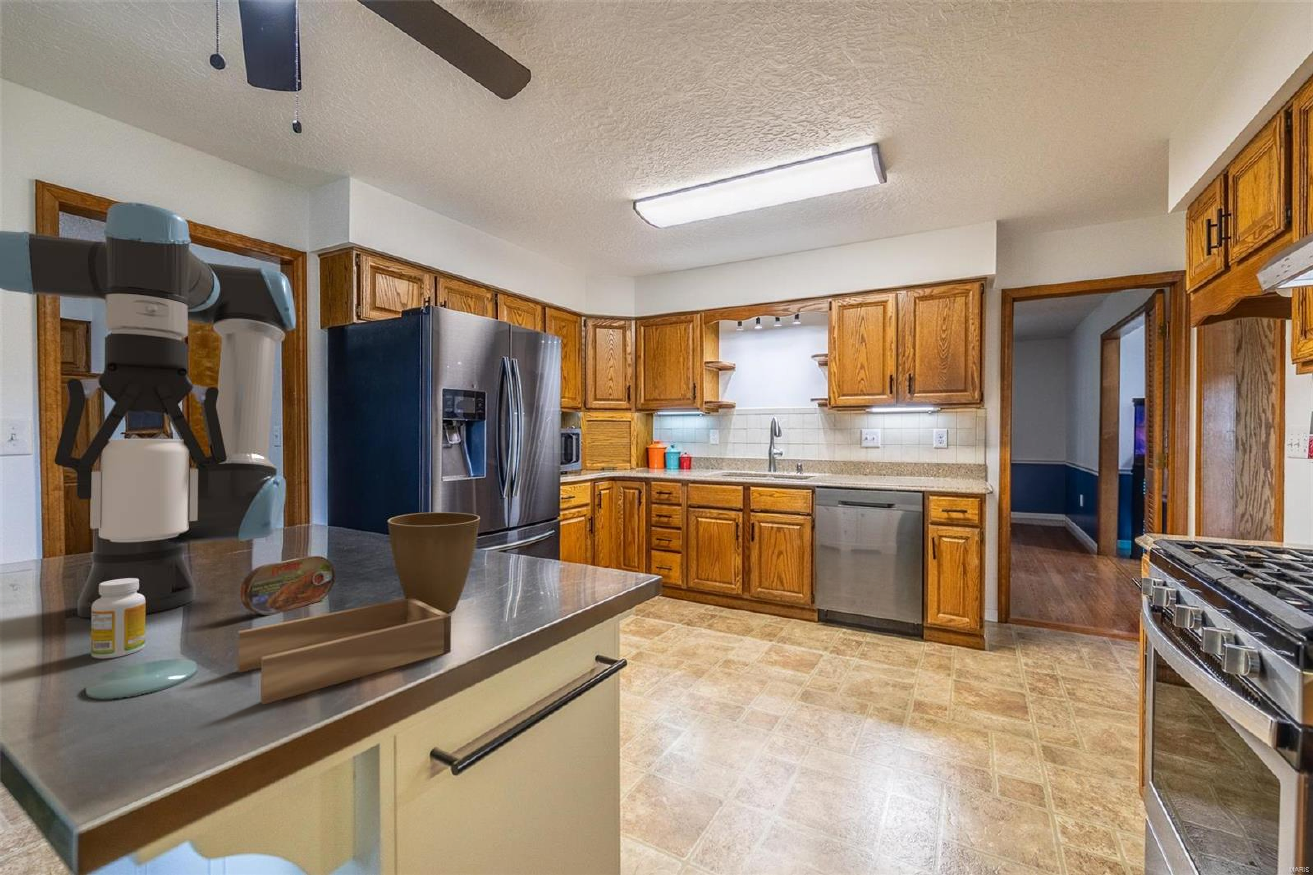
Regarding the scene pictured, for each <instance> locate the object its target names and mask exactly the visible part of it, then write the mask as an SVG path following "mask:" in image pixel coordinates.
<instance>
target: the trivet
mask: <svg viewBox="0 0 1313 875" xmlns="http://www.w3.org/2000/svg"><path fill="white" fill-rule="evenodd" d="M197 672H198V664H197V662H195V661H194V660H192V659H191V660H190V659H185V658H183V659H181V658H180V659H179V658H176V659H174V658H173V659H172V658H171V659H162V660H155V661H148V662H143V663H137V664H134V665H130V666H126V667H123V668H119V669H116V670H112V671H109V672H107V673H104V674H102V675H100V676H99V677H96V678H95V679H92V680H90V682H89V683H87V685H86V686H85V695H86V696H87V697H88V698H90V699H94V700H114V699H113V698H119V699H124V698H123V697H127V698H129V697H128V696H134V697H139V696H142V695H141V694H144V695H146V694H145V693H148V694H151V693H150V692H152V693H154V692H153V691H156V692H159V691H163V690H165V689H169V688H170V687H171V688H172V687H174V686H177V685H179V684H181V683H180V682H182V683H183V682H186V681H187V680H190V679H191V678H193V677H194V676H195V675H196V673H197ZM178 683H179V684H178ZM138 695H139V696H138Z"/></svg>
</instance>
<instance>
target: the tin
mask: <svg viewBox="0 0 1313 875" xmlns="http://www.w3.org/2000/svg"><path fill="white" fill-rule="evenodd" d="M335 580H336V572H335V568H334V565H333V564H332V563H331V561H330V560H329V559H328V558H326V557H324V556H321V555H320V556H318V555H313V556H301V557H298V558H297V557H296V558H293V559H287V560H284V561H279V562H273V563H268V564H264V565H263V564H262V565H260V566H257V567H256V568H254V569H253V570H252V571H250V573H248V574H247V576H246V577H245V578H244V579H243V582H242V583H241V589H240V598H241V603H242V605H243V606H244V608H246V609H247V610H249V611H250V612H252V613H254V614H257V615H258V614H259V615H262V616H271V615H270V614H273V615H277V614H280V612H281V613H284V612H287V610H288V611H291V610H294V609H298V607H299V608H301V607H305V605H306V606H309V604H310V605H312V604H315V603H318V602H321V601H322V600H324V599H325V598H326V597H327V596H328V595H329V594H330V592H331V591H332V589H333V587H334V584H335ZM290 609H291V610H290Z"/></svg>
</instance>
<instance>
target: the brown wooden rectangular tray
mask: <svg viewBox="0 0 1313 875" xmlns="http://www.w3.org/2000/svg"><path fill="white" fill-rule="evenodd" d="M451 640H452V615H450V614H448V613H444V612H442V611H440V610H438V609H435V608H433V607H431V606H429V605H427V604H425V603H423V602H420V601H418V600H416V599H414V598H412V597H409V598H405V597H404V598H401V599H400V598H399V599H395V600H394V599H393V600H389V601H386V602H379V603H375V604H369V605H365V606H359V607H354V608H349V609H344V610H339V611H335V612H330V613H326V614H325V613H324V614H319V615H314V616H309V617H304V618H300V619H294V620H289V621H284V622H280V623H273V624H269V625H263V626H258V627H254V628H249V629H248V628H247V629H244V630H238V631H237V672H238V671H239V672H238V674H240V673H245V672H249V671H253V670H252V669H254V670H257V669H256V668H258V669H260V703H261V704H262V705H266V704H269V703H274V702H277V701H280V700H284V699H288V698H292V697H295V696H299V695H302V694H306V693H309V692H312V691H315V690H319V689H323V688H326V687H330V686H334V685H337V684H341V683H343V682H348V681H351V680H356V679H358V678H361V677H362V678H363V677H365V676H368V675H372V674H376V673H379V672H384V671H387V670H390V669H394V668H397V667H401V666H404V665H405V666H406V665H408V664H412V663H415V662H419V661H421V660H422V661H423V660H426V659H429V658H432V657H436V656H439V655H440V656H441V655H442V654H447V653H450V652H452V649H451V648H452V645H451V644H452V641H451ZM248 670H249V671H248ZM244 671H245V672H244Z"/></svg>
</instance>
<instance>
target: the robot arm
mask: <svg viewBox="0 0 1313 875" xmlns="http://www.w3.org/2000/svg"><path fill="white" fill-rule="evenodd" d="M104 229H105V230H103V234H104V236H105V241H101V240H100V241H97V240H96V241H95V240H88V239H80V238H72V237H65V236H56V235H47V234H39V233H31V232H29V231H23V232H21V231H12V230H11V231H10V230H9V231H8V230H0V290H1V289H2V290H3V291H6V292H7V291H8V292H15V293H23V294H28V295H34V296H35V295H40V296H42V295H43V296H55V297H65V298H73V299H83V300H84V299H85V300H91V301H98V302H99V301H100V302H104V304H105V306H104V308H105V309H104V328H105V329H106V330H107V331H110V333H109V334H107V335H106V336H104V367H103V368H104V370H103V372H102V373H101V375H100V376H99V378H90V379H77V378H70V379H68V381H67V382H66V388H67V392H68V396H69V404H68V408H67V412H66V415H65V418H64V421H63V422H64V423H63V426H62V429H61V433H60V436H59V441H58V445H57V448H56V452H55V456H54V461H53V462H54V464H55V465H56V466H59V467H64V468H69V469H72V470H74V471H75V472H76V496H77V498H78V500H90V509H89V510H90V513H89V514H90V516H89V519H90V520H89V521H90V522H89V523H90V524H89V527H90V529H91V530H92V535H93V536H92V557H93V558H92V560H93V561H92V568H91V569H90V570H91V571H90V572H89V575H88V578H87V579H86V582H85V583H84V586H83V589H82V590H81V593H80V595H79V597H78V600H77V612H76V614H77V615H78V617H80V618H85V619H91V617H92V616H91V615H92V614H91V609H92V604H93V603H94V602H95V601H96V600H97V599H100V598H101V595H100V594H99V584H100V583H102V582H106V581H110V580H116V579H125V578H137V579H139V589H138V590H137V593H138V594H142V595H143V596H144V597H145V615H148V614H151V613H159V612H163V611H167V610H170V609H174V608H178V607H181V606H184V605H187V604H189V603H191V602H193V601H194V600H196V584H195V581H194V579H193V577H192V574H191V572H190V569H189V568H188V564H187V562H186V560H185V557H184V545H185V544H186V543H187V544H189V543H190V544H191V543H192V544H193V543H207V542H224V541H225V542H228V541H229V542H230V541H242V542H245V541H248V540H255V539H256V540H257V539H265V538H268V537H270V536H271V535H272V534H274V533H275V531H276V530H277V528H278V526H279V524H280V522H281V519H282V517H283V516H282V515H283V511H284V508H285V502H286V494H287V493H286V489H287V483H286V482H287V481H286V479H285V478H284V477H283V476H281V475H279V474H277V472H278V471H277V470H278V468H277V467H276V465H274V464H273V463H272V462H271V461H270V460H269V449H270V436H271V435H270V434H271V433H270V431H271V418H272V405H273V404H272V402H273V388H274V376H275V374H274V373H275V360H276V345H278V344H280V343H281V342H283V341H284V340H285V338H286V330H287V331H292V330H294V329H296V323H297V320H296V319H297V318H296V309H295V302H294V297H293V296H294V295H293V292H292V288H291V284H290V281H289V279H288V277H287V276H286V275H285V274H284V273H283V272H282V271H277V270H271V269H266V268H265V269H264V268H262V267H258V268H256V267H248V266H247V267H246V266H237V265H236V266H235V265H229V264H220V263H219V264H218V263H209V262H205V261H204V260H201V259H200V258H198V256H197V255H195V254H194V253H193V252H192V250H190V243H191V242H192V239H191V238H190V231H189V224H188V220H186V219H185V218H184V217H183V216H182V215H180V214H178V213H177V212H174V211H171V210H169V209H166V208H163V207H159V206H155V205H152V204H146V203H137V202H130V201H129V202H127V201H126V202H123V201H122V202H118V203H115V204H114V203H113V204H111V206H110V207H109V208H108V209H107V214H106V224H105V228H104ZM189 322H194V323H199V324H200V323H201V324H210V325H211V324H212V326H213V331H214V332H215V333H217V335H218V336H219V337H221V349H220V361H219V372H218V382H217V387H215V386H209V387H208V386H202V385H199V384H193V383H192V380H190V377H189V375H188V374H189V372H188V369H189V368H188V365H189V363H188V361H189V356H188V355H189V353H188V352H189V350H188V348H189V344H188V343H186V341H184V340H182V339H185V338H187V337H188V334H189V333H188V332H189V331H188V329H189V326H188V325H189V324H188V323H189ZM96 389H102V390H103V391H104V393H105V394H106V395H107V396H108V397H109V398H110V399H111V400H112V401H113V402H114V405H113V406H112V407H111V409H110V410H109V413H108V415H106V418H105V419H104V420H103V423H102V424H101V425H100V427H99V428H98V430H97V432H96V433H95V435H94V436H93V438H92V440H91V442H90V443H89V445H88V446H87V447H86V449H85V451H84V452H83V454H82V456H81V457H80V458H77V457H74V456H72V454H73V450H74V447H75V443H76V440H77V436H78V431H79V429H80V424H81V419H82V417H83V413H84V408H85V404H86V399H90V398H92V397H93V396H94V395H95V394H94V393H95V390H96ZM191 393H192V394H193V395H194V398H195V401H196V402H197V403H200V408H201V409H200V410H201V414H202V419H203V423H204V428H205V429H204V430H205V434H206V438H207V443H208V446H209V447H208V448H209V451H210V452H209V453H210V455H207V456H206V454H205V452H204V450H203V448H202V446H201V445H200V443H199V441H198V440H197V437H196V436H195V434H194V431H193V430H192V429H191V427H190V425H189V422H188V421H187V420H186V418H185V415H184V412H183V410H182V409H181V408H180V406H179V405H180V403H181V402H183V400H184V399H185V398H186V397H187V396H188V395H189V394H191ZM142 412H147V413H152V414H165V416H166V417H167V419H168V421H170V423H171V425H172V426H173V428H174V431H175V433H176V434H177V436H178V437H179V438H178V439H184V444H185V445H186V446H187V448H188V449H189V458H190V460H191V461H192V463H193V464H194V467H189V529H188V530H187V531H186V532H183V533H180V534H178V536H176V537H172V538H167V539H161V540H152V541H141V542H112V541H110V539H104V538H101V537H99V528H100V516H101V471H99V470H93V466H94V465H95V464H96V462H97V460H98V459H99V458H100V454H101V452H102V451H103V449H104V448H105V446H106V444H107V443H108V441H109V439H112V437H113V435H114V433H115V432H116V430H117V428H118V427H119V425H120V423H121V422H122V420H123V419H124V417H125V416H126V415H127V413H142Z"/></svg>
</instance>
